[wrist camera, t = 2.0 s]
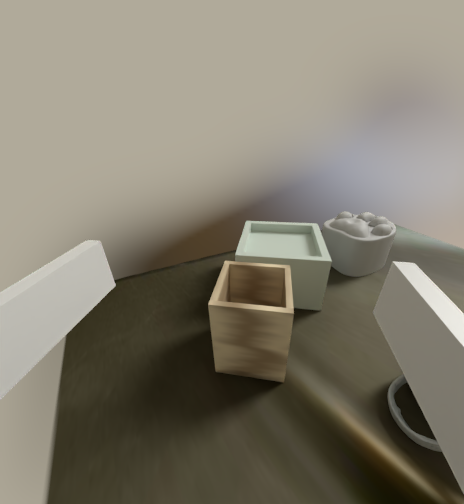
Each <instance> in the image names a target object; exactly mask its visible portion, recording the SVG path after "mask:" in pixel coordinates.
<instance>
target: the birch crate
mask: <svg viewBox="0 0 464 504" xmlns="http://www.w3.org/2000/svg"><path fill="white" fill-rule="evenodd" d="M208 308H209V317H210V326H211V335H212V344H213V353H214V362H215V371H216V372H220V373H226V374H233V375H239V376H246V377H252V378H258V379H265V380H271V381H278V382H284V379H285V372H286V365H287V358H288V351H289V345H290V338H291V331H292V324H293V317H294V308H293V295H292V283H291V270H290V265H277V264H263V263H249V262H234V261H225V262H224V265H223V268H222V270H221V273H220V275H219V278H218V280H217V283H216V286H215V288H214V291H213V293H212V296H211V298H210V301H209V304H208Z"/></svg>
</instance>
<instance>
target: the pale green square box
mask: <svg viewBox="0 0 464 504" xmlns="http://www.w3.org/2000/svg"><path fill="white" fill-rule="evenodd" d="M235 262H249V263H263V264H277V265H290V270H291V283H292V295H293V308H299V309H309V310H319V311H321V308H322V304H323V299H324V295H325V290H326V286H327V281H328V277H329V272H330V268H331V263H332V260H331V258H330V255H329V252H328V250H327V247H326V245H325V242H324V239H323V237H322V234H321V232H320V229H319V227H318V224H313V223H312V224H311V223H287V222H261V221H246V224H245V227H244V230H243V233H242V236H241V239H240V242H239V245H238V248H237V251H236V254H235Z"/></svg>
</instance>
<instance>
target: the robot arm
mask: <svg viewBox="0 0 464 504" xmlns="http://www.w3.org/2000/svg"><path fill="white" fill-rule="evenodd" d="M115 286H116V285H115V282H114V279H113V276H112V273H111V270H110V268H109V265H108V262H107V259H106V256H105V253H104V250H103V247H102V244H101V241H91V240H86V241H85V242H83V243H81V244H80V245H78V246H77V247H75V248H73V249H71V250H70V251H68V252H66V253H65V254H63V255H61V256H60V257H58V258H56V259H55V260H53V261H51V262H50V263H49V264H46V265H45V266H43V267H42V268H40V269H38V270H37V271H35V272H33V273H32V274H30V275H28V276H27V277H25V278H23V279H22V280H20V281H18V282H17V283H15V284H13V285H12V286H10V287H8V288H7V289H5V290H4V291H2V292H0V400H1V398H3V397H4V396H5V394H7V393H8V392H9V391H10V390H11V389H12V388H13V387H14V386H15V385H16V383H18V382H19V381H20V380H21V379H22V378H23V377H24V376H25V375H26V374H27V373H28V372H29V371H30V370H31V369H32V368H33V367H34V366H35V365H36V364H37V363H38V362H39V361H40V360H41V359H42V358H43V357H44V356H45V355H46V354H47V353H48V352H49V351H50V350H51V349H52V348H53V347H54V346H55V345H56V344H57V343H58V342H59V341H60V340H61V339H62V338H63V337H64V336H65V335H66V334H67V333H68V332H69V331H70V330H71V329H72V328H73V327H74V326H75V325H76V324H77V323H78V322H79V321H80V320H81V319H82V318H83V317H84V316H85V315H86V314H87V313H88V312H89V311H90V310H91V309H93V308H94V307H95V306H96V305H97V304H98V303H99V302H100V301H101V300H102V299H103V298H104V297H105V296H106V295H107V294H108V293H109V292H110V291H111V290H112V289H113V288H114V287H115ZM373 314H374V316H375V318H376V320H377V322H378V324H379V326H380V328H381V330H382V332H383V334H384V336H385V338H386V340H387V342H388V344H389V346H390V348H391V350H392V352H393V354H394V356H395V358H396V360H397V362H398V364H399V366H400V368H401V370H402V372H403V374H404V376H405V378H406V380H407V382H408V384H409V386H410V388H411V390H412V392H413V394H414V396H415V398H416V400H417V402H418V404H419V406H420V408H421V410H422V412H423V414H424V416H425V418H426V420H427V422H428V424H429V426H430V428H431V430H432V432H433V434H434V436H435V438H436V440H437V442H438V444H439V446H440V448H441V450H442V452H443V454H444V456H445V458H446V460H447V462H448V464H449V466H450V468H451V470H452V472H453V474H454V476H455V478H456V480H457V482H458V484H459V486H460V488H461V490H462V492H463V494H464V313H463V312H462V311H461V310H460V309H459V308H458V307H457V306H456V305H455V304H454V303H453V302H452V301H451V300H450V299H449V298H448V297H447V296H446V295H445V294H444V293H443V292H442V291H441V290H440V289H439V288H438V287H437V286H436V285H435V284H434V283H433V282H432V281H431V280H430V279H429V278H428V277H427V276H426V275H425V274H424V273H423V271H422V270H421V269H420V268H419V267H418V266H417V265H416V264H415V263H407V262H392V265H391V267H390V270H389V272H388V275H387V277H386V280H385V282H384V285H383V288H382V290H381V293H380V295H379V298H378V300H377V303H376V305H375V308H374V311H373Z"/></svg>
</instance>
